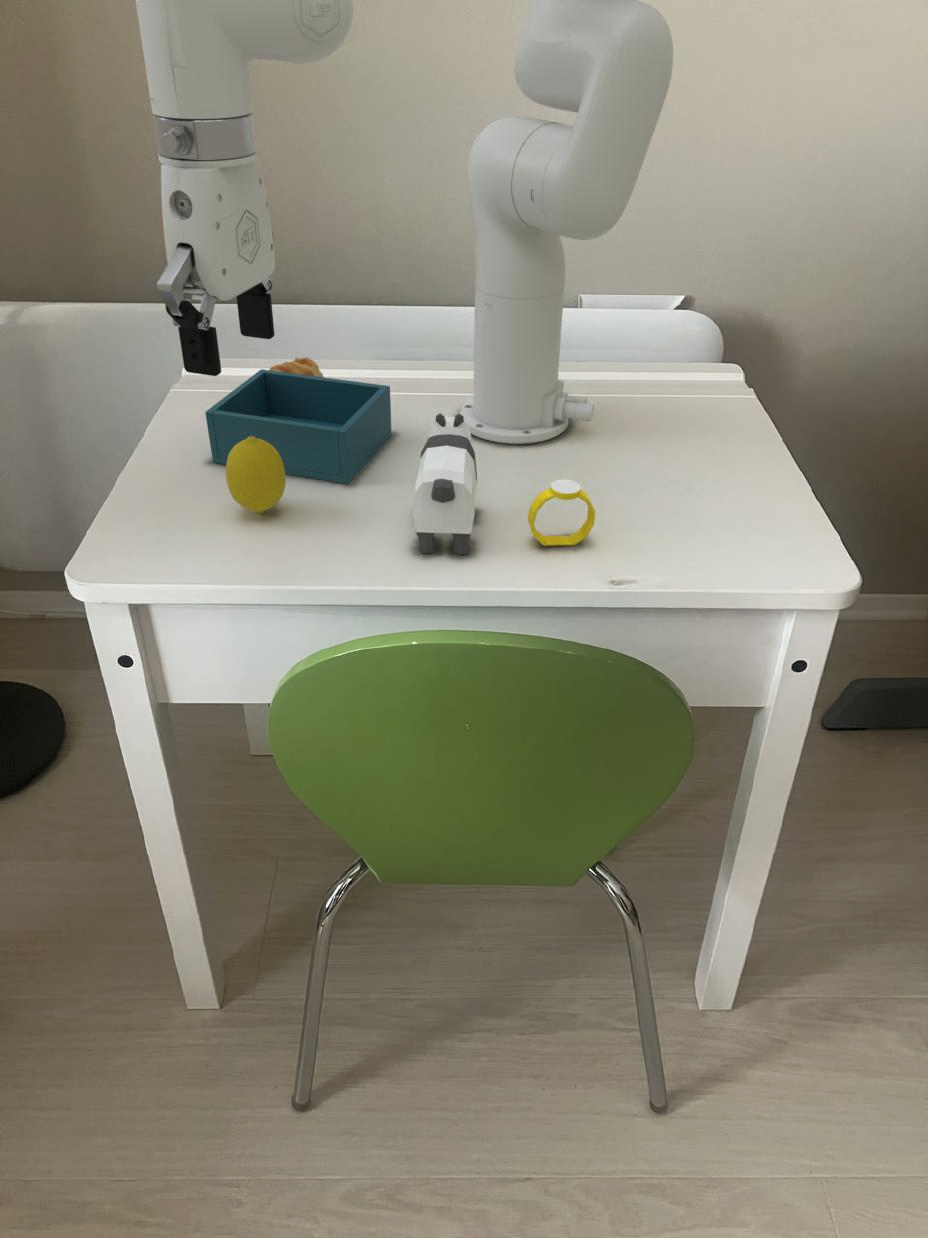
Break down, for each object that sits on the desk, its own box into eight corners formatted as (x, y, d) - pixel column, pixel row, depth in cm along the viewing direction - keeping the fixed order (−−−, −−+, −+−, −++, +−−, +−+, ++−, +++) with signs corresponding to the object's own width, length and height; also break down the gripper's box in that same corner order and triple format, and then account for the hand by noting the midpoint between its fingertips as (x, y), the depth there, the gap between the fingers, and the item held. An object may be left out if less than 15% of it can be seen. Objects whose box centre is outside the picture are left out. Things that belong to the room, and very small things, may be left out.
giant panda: (473, 562, 87) (475, 466, 82) (412, 560, 88) (409, 464, 82) (478, 486, 99) (480, 398, 94) (424, 484, 100) (423, 396, 94)
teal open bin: (391, 434, 109) (390, 385, 106) (348, 484, 100) (344, 431, 96) (266, 416, 113) (261, 368, 110) (212, 462, 103) (204, 411, 100)
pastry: (272, 415, 113) (269, 384, 111) (236, 400, 117) (231, 370, 115) (331, 392, 119) (329, 361, 117) (295, 378, 123) (292, 349, 120)
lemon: (277, 529, 92) (268, 452, 87) (222, 523, 93) (210, 446, 88) (297, 502, 96) (289, 427, 92) (244, 496, 97) (234, 422, 92)
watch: (530, 552, 89) (533, 495, 85) (524, 537, 91) (527, 480, 88) (594, 548, 90) (600, 491, 86) (586, 533, 92) (592, 477, 88)
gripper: (190, 162, 68) (221, 395, 78) (298, 126, 81) (312, 328, 91) (98, 154, 69) (139, 383, 79) (218, 120, 83) (240, 319, 93)
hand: (231, 353), depth 85 cm, fingers open, 9 cm apart
